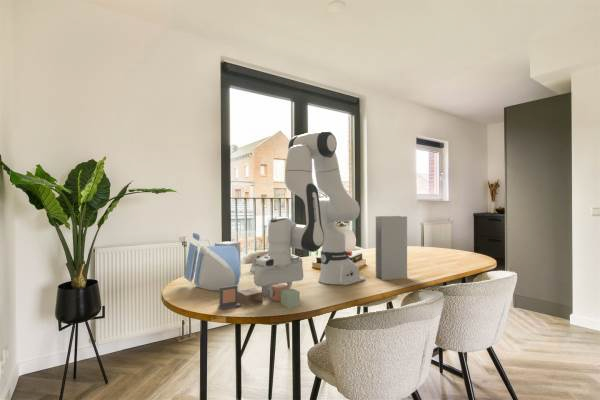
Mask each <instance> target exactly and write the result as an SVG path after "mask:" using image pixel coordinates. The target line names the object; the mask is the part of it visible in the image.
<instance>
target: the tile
mask: <svg viewBox="0 0 600 400" xmlns="http://www.w3.org/2000/svg"><path fill="white" fill-rule="evenodd" d="M218 291H219V294H218V295H219V296H218V297H219V299H218V300H219V303H218V305H217V308H218V309H219V310H220V311H223V310H228V309H229V310H230V309H234V308H239V307H240V306H241V303H240V302H238V301H237V291H238V285H234V286H227V287H220V288H219V290H218Z"/></svg>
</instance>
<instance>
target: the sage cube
mask: <svg viewBox="0 0 600 400" xmlns="http://www.w3.org/2000/svg"><path fill="white" fill-rule="evenodd" d="M300 293H301V292H300V291H299V290H297V289H295V288H290V289H287V290H281V301H280V304H281V305H282V306H284V307H286V308H292V307H296V306H300V304H301V303H300V301H301V300H300Z"/></svg>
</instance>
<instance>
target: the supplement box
mask: <svg viewBox="0 0 600 400" xmlns="http://www.w3.org/2000/svg"><path fill="white" fill-rule="evenodd" d="M214 246H235V247H236V249H237V251H238V253H239V261H240V262H241V242H240V241H231V240H230V241H228V240H227V241H220V242H214ZM241 269H242V268H241V264H240V270H241ZM241 274H242V271H241V272H240V276H241Z"/></svg>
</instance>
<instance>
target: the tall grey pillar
mask: <svg viewBox="0 0 600 400" xmlns="http://www.w3.org/2000/svg"><path fill="white" fill-rule="evenodd" d="M375 278H377V279H379V278H381V281H387V280H389V281H390V280H398V278H401V279H407V278H408V216H401V215H393V216H392V215H385V216H384V215H383V216H381V215H380V216H377V215H376V216H375Z"/></svg>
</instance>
